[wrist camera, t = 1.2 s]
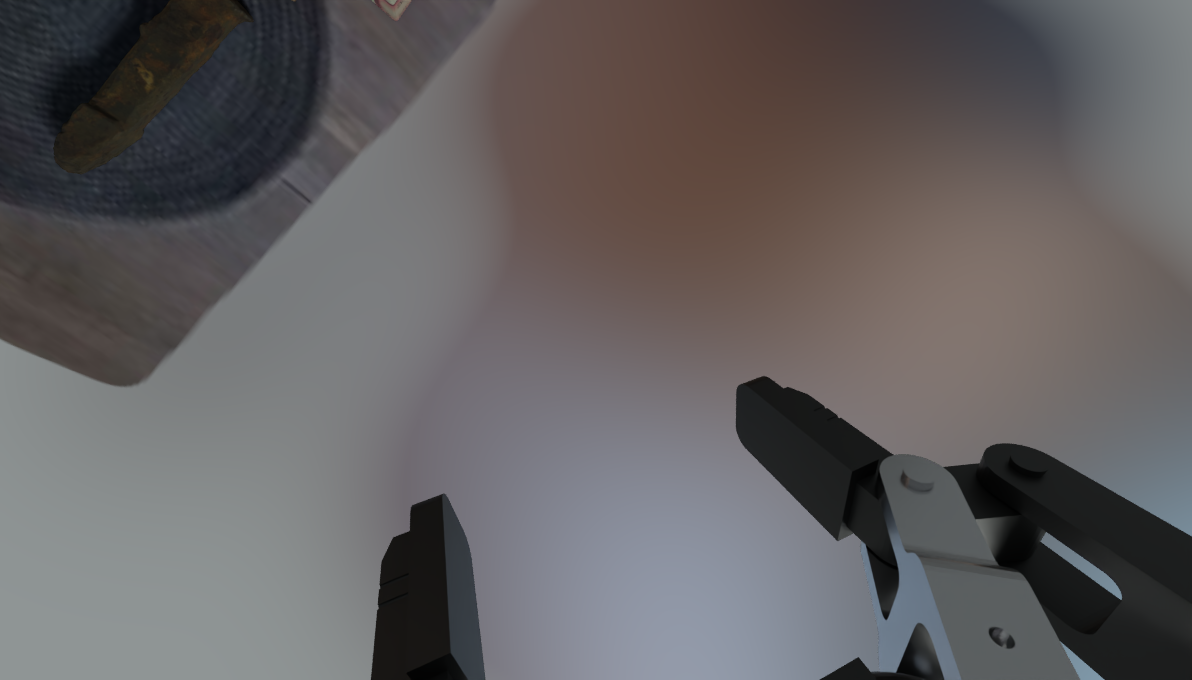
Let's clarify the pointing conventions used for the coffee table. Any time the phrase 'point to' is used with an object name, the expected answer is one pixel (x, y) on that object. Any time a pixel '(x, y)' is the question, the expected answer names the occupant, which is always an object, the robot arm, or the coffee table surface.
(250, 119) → the coffee table surface
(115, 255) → the coffee table surface
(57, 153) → the hand tool
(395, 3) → the small box
